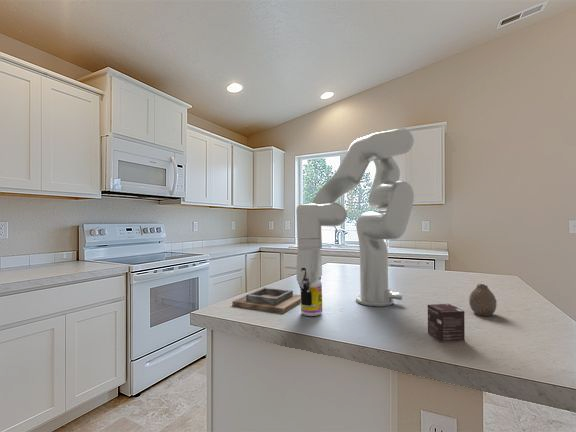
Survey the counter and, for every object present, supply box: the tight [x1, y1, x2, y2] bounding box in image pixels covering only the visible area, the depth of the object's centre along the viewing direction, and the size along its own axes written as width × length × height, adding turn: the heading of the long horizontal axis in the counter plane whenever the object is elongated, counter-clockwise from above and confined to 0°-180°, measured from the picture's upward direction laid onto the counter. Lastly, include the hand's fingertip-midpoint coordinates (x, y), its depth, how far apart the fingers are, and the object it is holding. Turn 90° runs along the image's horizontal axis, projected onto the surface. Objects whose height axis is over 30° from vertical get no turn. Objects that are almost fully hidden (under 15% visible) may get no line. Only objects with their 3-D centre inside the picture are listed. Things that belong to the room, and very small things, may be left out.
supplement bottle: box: [300, 273, 323, 317], centre depth 93 cm, size 7×7×13 cm
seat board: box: [231, 287, 301, 314], centre depth 106 cm, size 20×17×4 cm
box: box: [427, 303, 466, 344], centre depth 74 cm, size 6×6×7 cm
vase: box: [468, 283, 498, 317], centre depth 90 cm, size 7×7×9 cm
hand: (311, 301), depth 93 cm, fingers closed on supplement bottle, 6 cm apart
